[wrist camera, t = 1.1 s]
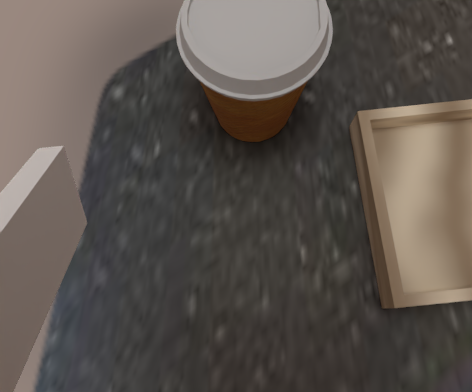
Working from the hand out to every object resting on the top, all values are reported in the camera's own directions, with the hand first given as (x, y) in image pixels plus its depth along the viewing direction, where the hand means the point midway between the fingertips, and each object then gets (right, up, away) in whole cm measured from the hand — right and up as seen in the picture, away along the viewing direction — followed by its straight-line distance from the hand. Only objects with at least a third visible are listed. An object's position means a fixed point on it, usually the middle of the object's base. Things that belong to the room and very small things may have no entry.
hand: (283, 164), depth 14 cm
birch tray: (+16, -2, +21) cm, 26 cm away
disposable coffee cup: (0, +6, +24) cm, 25 cm away
